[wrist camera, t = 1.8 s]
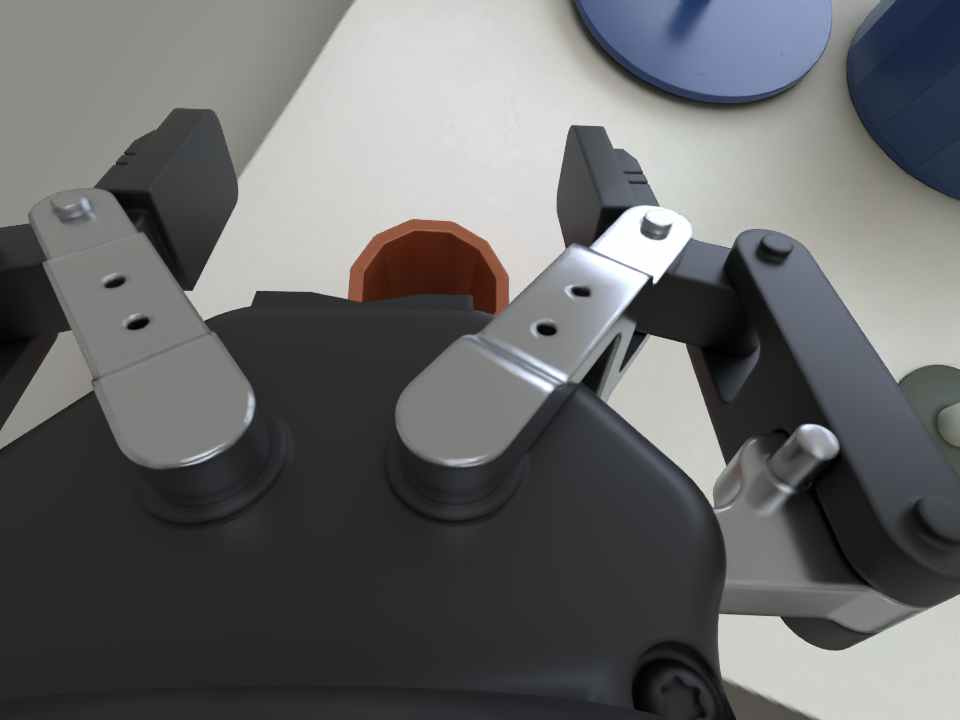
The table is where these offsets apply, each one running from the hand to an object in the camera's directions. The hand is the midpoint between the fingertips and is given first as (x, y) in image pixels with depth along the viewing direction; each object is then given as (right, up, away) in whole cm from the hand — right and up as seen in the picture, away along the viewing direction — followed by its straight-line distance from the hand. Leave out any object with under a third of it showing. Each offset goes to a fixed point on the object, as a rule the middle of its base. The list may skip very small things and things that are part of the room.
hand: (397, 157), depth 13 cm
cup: (-1, -5, +16) cm, 17 cm away
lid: (+17, +21, +25) cm, 37 cm away
